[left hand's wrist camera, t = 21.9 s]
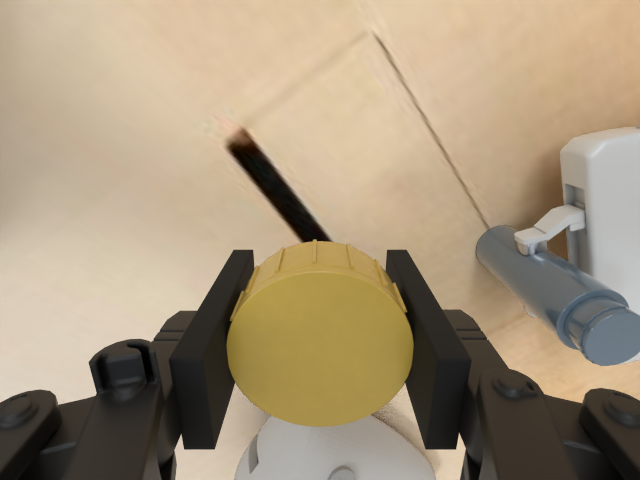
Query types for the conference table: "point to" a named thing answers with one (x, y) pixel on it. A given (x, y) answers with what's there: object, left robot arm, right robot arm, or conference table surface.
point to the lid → (320, 336)
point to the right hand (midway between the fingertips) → (522, 277)
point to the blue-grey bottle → (564, 298)
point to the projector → (332, 453)
